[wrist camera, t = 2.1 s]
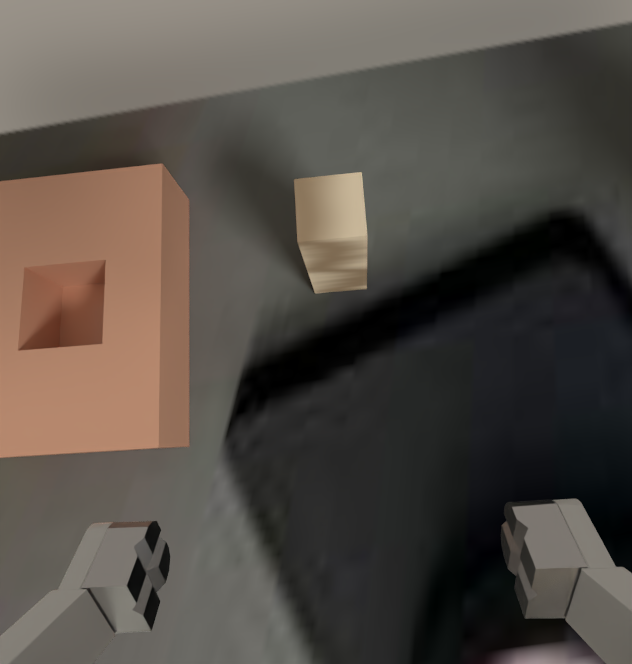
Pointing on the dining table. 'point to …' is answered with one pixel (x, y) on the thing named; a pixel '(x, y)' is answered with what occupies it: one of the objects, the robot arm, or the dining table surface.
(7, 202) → the socket
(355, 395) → the dining table surface
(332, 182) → the peg
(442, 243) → the dining table surface
